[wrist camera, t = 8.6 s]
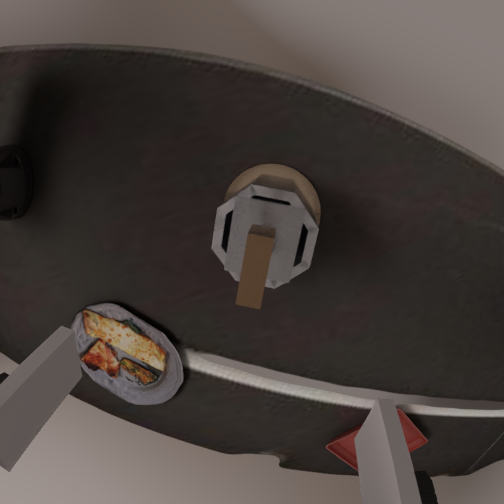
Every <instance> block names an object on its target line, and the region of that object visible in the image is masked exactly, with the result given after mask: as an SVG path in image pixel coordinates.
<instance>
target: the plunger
mask: <svg viewBox="0 0 504 504" xmlns="http://www.w3.org/2000/svg"><path fill="white" fill-rule="evenodd" d="M253 198H257V199H263V200H268V201H273V202H278V203H283V204H288V205H291V204H290V202H288V201H283V200H278V199H273V198H268V197H263V196H257V195H256V196H255V197H253ZM275 233H276V228H272V227H267V226H262V225H257V224H252V226H251V228H250V230H249V232H248V235H247V241H246V246H245V252H244V258H243V264H242V270H241V276H240V282H239V287H238V293H237V299H236V305H241V306H246V307H251V308H256V309H260V308H261V303H262V298H263V293H264V288H265V283H266V279H267V274H268V269H269V264H270V259H271V254H272V252H273V251H274V249H275V247H276V237H275Z"/></svg>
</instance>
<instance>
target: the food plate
mask: <svg viewBox="0 0 504 504" xmlns="http://www.w3.org/2000/svg"><path fill="white" fill-rule="evenodd" d="M70 329H71V330H73V331H75V337H76V344H77V350H78V356H79V362H80V365H82V367H83V369H84V371H85V372H87V373H88V375H89V376H90V377H91V378H92V379H93V380H94V381H95V382H96V383H98V384H100V385H101V386H102V387H104V388H105V389H107V390H109V391H110V392H112V393H114V394H115V395H117V396H119V397H121V398H122V399H124V400H126V401H127V402H131V403H134V404H138V405H152V404H160V403H164V402H166V401H167V400H169V399H172V396H174V395H175V393H176V392H177V390H178V389H179V387H180V385H181V384H182V382H183V378H184V376H183V366H182V362H181V360H180V356H179V354H178V353H177V351H176V349H175V347H174V346H173V344H172V343H171V342H170V340H169V339H168V338H167V337H166V335H165V334H164V333H162V332H161V331H159V330H158V329H156V328H154V327H152V326H151V325H150V324H147V322H145V321H144V320H142V319H140V318H138V317H136V316H135V315H133V314H132V313H130V312H128V311H127V310H126V309H124V308H122V307H121V306H119V305H116V304H113V303H108V302H103V303H98V304H93V305H87V306H85V307H84V309H82V310H80V311H79V312H78V313H77V314H76V317H75V318H74V319H73V322H72V324H71V327H70ZM110 345H112V347H110ZM141 361H143V362H146V363H148V364H150V365H151V366H153V367H155V368H157V369H160V370H162V372H163V373H162V374H161V376H160V378H159V379H158V381H157V382H155V383H154V384H153V383H152V384H151V385H147V386H144V385H142V384H141V383H139V384H141V386H139V385H138V384H137V383H138V382H137V383H135V381H136V380H135V378H132V377H137V381H138V379H139V380H140V381H142V382H143V383H145V385H146V383H149V381H152V382H153V381H154V379H155V378H157V377H156V376H157V375H156V374H155V373H154V372H152V371H151V370H150V369H148V368H147V367H146V366H145V365H146V364H143V363H142V362H141ZM121 375H122V376H123V377H122V376H121ZM125 375H126V376H127V377H128V379H129V378H130V379H131V380H133V383H132V382H130V381H128V380H127V378H126V376H125ZM122 380H123V381H122ZM124 380H125V382H124ZM134 380H135V381H134ZM128 382H130V383H128ZM132 384H133V385H132Z"/></svg>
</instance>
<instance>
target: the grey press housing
mask: <svg viewBox="0 0 504 504" xmlns="http://www.w3.org/2000/svg"><path fill="white" fill-rule="evenodd" d="M256 195H257V196H263V197H268V198H273V199H278V200H283V201H288V202H290V204H291V205H288V204H283V203H278V202H273V201H268V200H263V199H257V198H253V197H255V196H256ZM320 217H321V209H320V202H319V198H318V195H317V193H316V191H315V189H314V187H313V186H312V184H311V183H310V182H309V180H308V179H307V178H306V177H305V176H304V175H302V174H301V173H300V172H298V171H297V170H295V169H293V168H291V167H288V166H285V165H282V164H275V163H268V164H261V165H257V166H254V167H252V168H250V169H248V170H246V171H244V172H243V173H241V174H240V175H239V176H238V177H237V178H236V179H235V180H234V181H233V182H232V184H231V185H230V187H229V188H228V190H227V192H226V195H225V198H224V202H223V204H222V205H221V206H220V207H218V208H217V213H216V220H215V227H214V234H213V241H212V248H211V249H212V250H213V251H214V253H215V254H216V255H217V257H218V258H219V259H220V261H221V262H222V263H223V265H224V266H225V267H224V270H226V271H229V273H230V274H231V275H232V277H233V278H234V279H235V281H240V276H241V270H242V264H243V258H244V252H245V246H246V241H247V235H248V232H249V230H250V228H251V226H252V224H257V225H262V226H267V227H272V228H276V233H275V237H276V247H275V249H274V251H273V252H272V254H271V259H270V264H269V269H268V274H267V279H266V283H265V287H269V288H274V289H275V288H277V287H279V286H280V285H282V284H284V283H289V282H290V279H292V278H294V277H295V276H297V275H299V274H300V273H302V272H304V271H305V270H307V269H309V268H310V264H311V260H312V256H313V252H314V247H315V243H316V239H317V235H318V230H319V227H318V226H319V223H320Z"/></svg>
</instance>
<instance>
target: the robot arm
mask: <svg viewBox="0 0 504 504" xmlns="http://www.w3.org/2000/svg"><path fill="white" fill-rule="evenodd" d="M32 191H33V176H32V170H31V166H30V163H29V161H28V158H27V156H26V155H25V153H24V152H23V151H22V150H21V149H20V148H19V147H17V146H15V145H5V146H0V220H3V221H9V220H13V219H15V218H18V217H20V216H21V215H23V214H24V213H25V211H26V210H27V208H28V206H29V204H30V201H31V197H32ZM81 377H82V373H81V368H80V362H79V356H78V350H77V344H76V337H75V331H73V330H71V329H68V328H65V327H63V326H61V327H60V328H59V329H58V330H56V331H55V332H54V333H53V334H52V335H51V336H50V337H49V338H48V339H47V340H46V341H45V342H43V343H42V344H41V345H40V346H39V347H38V348H37V349H36V350H35V351H34V352H33V353H32V354H31V355H30V356H29V357H28V358H27V359H26V360H24V361H23V362H22V363H21V364H20V365H19V366H18V367H17V368H16V369H15V370H14V371H13V372H12V373H11V374H10V375H8V374H6V373H2V374H0V466H2V467H3V468H4V469H6V470H7V471H8V472H10V471H11V469H12V468H13V466H14V465H15V463H16V462H17V461H18V459H19V458H20V457H21V455H22V454H23V452H24V451H25V450H26V448H27V447H28V446H29V444H30V443H31V442H32V440H33V439H34V438H35V436H36V435H37V434H38V432H39V431H40V430H41V428H42V427H43V426H44V424H45V423H46V422H47V421H48V419H49V418H50V417H51V415H52V414H53V413H54V411H55V410H56V409H57V408H58V406H59V405H60V404H61V402H62V401H63V400H64V399H65V397H66V396H67V395H68V394H69V392H70V391H71V390H72V389H73V387H74V386H75V385H76V384H77V382H78V381H79V380H80V379H81ZM354 441H355V448H356V456H357V463H358V471H359V478H360V487H361V497H362V504H438V502H437V497H436V494H435V490H434V486H433V482H432V480H431V478H430V477H429V476H428V474H427V473H426V472H425V471H416V472H414V469H413V465H412V462H411V458H410V454H409V450H408V447H407V443H406V440H405V436H404V433H403V429H402V426H401V422H400V419H399V416H398V413H397V409H396V406H395V403H394V400H390V399H377V401H376V402H375V404H374V406H373V408H372V410H371V411H370V413H369V415H368V417H367V418H366V420H365V422H364V423H363V425H362V427H361V429H360V430H359V432H358V433H357V435H356V437H355V438H354Z"/></svg>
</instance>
